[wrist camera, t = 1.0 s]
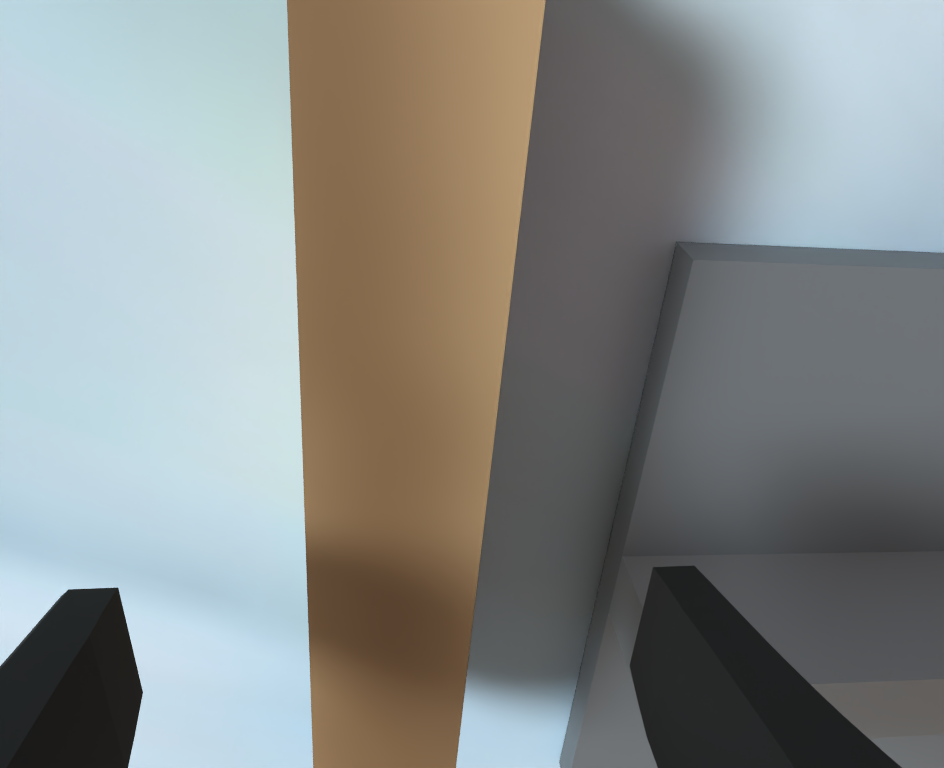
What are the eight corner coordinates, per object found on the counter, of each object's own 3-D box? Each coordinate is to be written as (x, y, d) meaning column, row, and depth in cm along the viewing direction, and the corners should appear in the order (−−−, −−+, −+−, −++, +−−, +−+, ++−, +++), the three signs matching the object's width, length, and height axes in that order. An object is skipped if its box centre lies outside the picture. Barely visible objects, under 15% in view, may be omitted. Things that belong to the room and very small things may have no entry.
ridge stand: (1240, 265, 18) (1501, 370, 14) (945, 741, 28) (1050, 892, 23) (677, 242, 17) (782, 355, 12) (559, 762, 26) (596, 930, 21)
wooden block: (487, -114, 13) (561, -132, 8) (429, 633, 22) (446, 847, 17) (318, -131, 13) (281, -162, 8) (329, 636, 22) (316, 856, 17)
